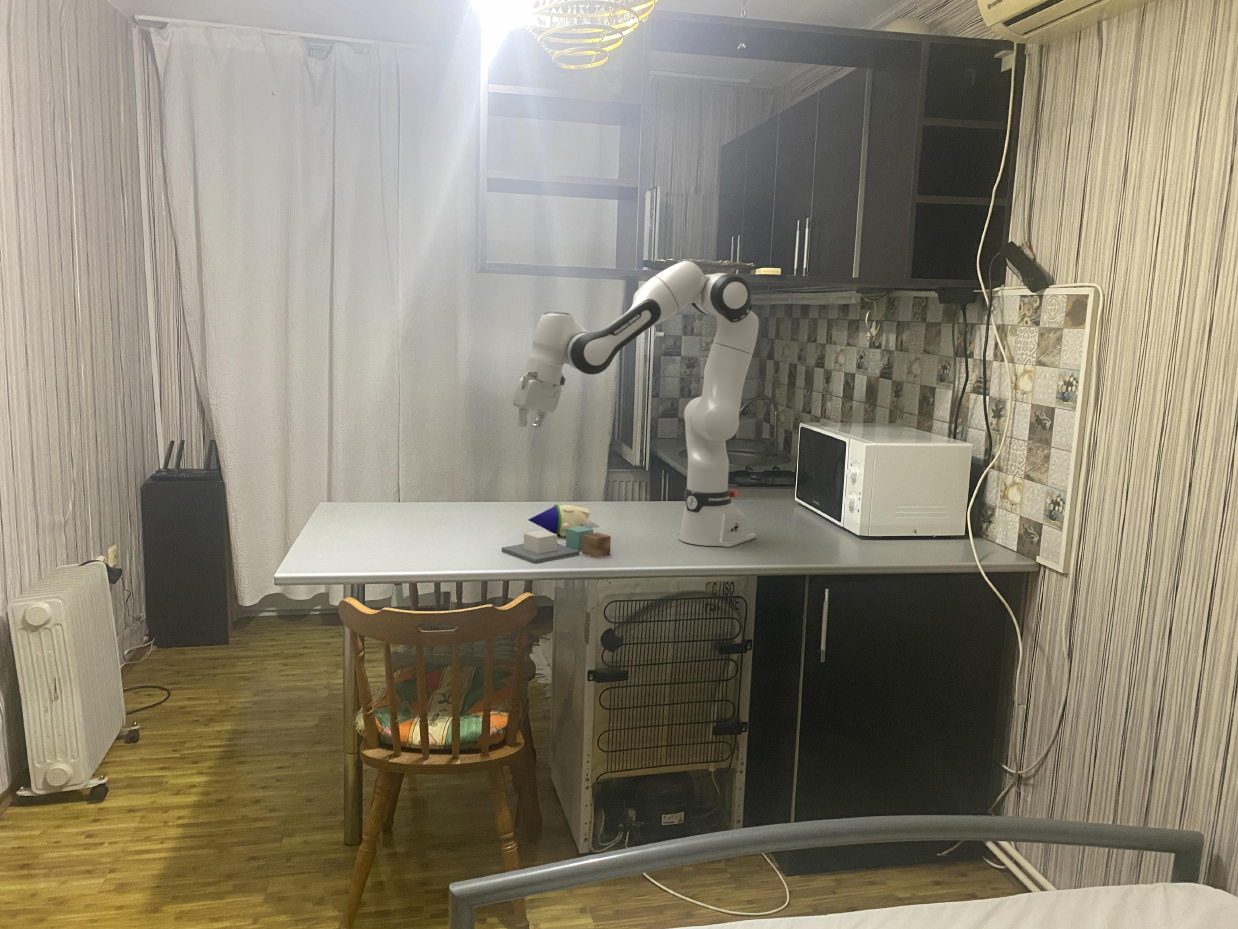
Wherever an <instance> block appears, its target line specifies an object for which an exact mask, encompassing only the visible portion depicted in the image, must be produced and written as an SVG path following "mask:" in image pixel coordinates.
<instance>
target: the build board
mask: <svg viewBox="0 0 1238 929" xmlns="http://www.w3.org/2000/svg"><path fill="white" fill-rule="evenodd" d="M501 552H502V553H505V554H508V555H510V556H513V557H516V558H519V559H521V560H525V561H526V560H527V561H526V562H529V561H530V563H532V562H533V563H532V564H540V563H543V561H545V562H550V561H555V560H559V559H560V558H561V559H565V557H566V558H570V557H575V555H576V556H579V555H580V550H579V551H578V550H575V549H572V548H569V547H566V545H563V544H560V543H558V535H557V534H554V533H552V532H550V531H548V530H545V529H541V530H540V529H539V530H536V531H535V530H534V531H530V532H523V543H521V544H515V545H514V544H513V545H509V546H503V547H502V546H501ZM549 560H550V561H549ZM539 562H540V563H539Z"/></svg>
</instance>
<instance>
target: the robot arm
mask: <svg viewBox="0 0 1238 929" xmlns="http://www.w3.org/2000/svg"><path fill="white" fill-rule="evenodd" d="M751 298H752V292H751V288H750V284H749V283H748V282H747V280H745V278H743V277H742V276H740V275H737V274H734V273H725V272H716V273H707V274H706V273H705V274H704V273H703V271H702V269H701V268H700V267H699V266H698V264H696V263H694V262H692V261H690V260H682V261H679V262H677V263H675V264H673V265H671V266H669V267H667V268H666V269H664V270H662V271H660V272H658V273H657V274H655V275H653V276H652V277H651V278H649V279H648V280H646V282H644V283H643V284H642V285H641V286H640V287H639V288H638V289H637V290H636V291H635V292H634V294H633V297H632V303H631V304H632V305H631V306H630V308H629V310H627V311H626V312H625V313H623V314H622V315H621V316H620V317H618V318H617V319H616V320H615V321H613V322H611V323H610V324H609V325H607V326H606V327H605V328H603V329H601V330H598V331H594V332H593V331H591V332H589V331H588V330H587V329H585V328H584V327H583V326H581V325H580V324H579V322H578V321H576V319H575V318H574V317H573V315H572V314H571V313H569V312H563V311H562V312H561V311H547V312H545V313H543V314H542V315H541V316H540V318H539V320H538V323H537V326H536V328H535V332H534V334H533V339H532V350H531V353H530V354H529V356H528V359H527V363H526V367H525V371H524V375H523V377H521V378H520V379H519V381H518V383H517V386H516V389H515V392H514V396H513V399H512V405H513V407H515V408H518V422H517V426H518V427H521V428H527V427H528V426H527V425H528V422H529V421H528V420H527V419H528V414H529V413H530V411H537V412H536V414H537V416H536V417H535V420H533V424H532V427H533V428H535V429H542V425H543V423H544V421H545V419H546V418H547V415H548V413H550V414H552V413H554V412H555V411H556V409H557V407H558V405H559V400H560V397H561V394H562V387H564V386H565V384H566V377H565V376H564V374H563V371H562V370H563V367H564V365H569V366H570V367H571V368H572V369H575V370H577V371H580V372H581V373H583V374H586V375H593V376H594V375H598V374H600V373H602V372H604V371H606V370H607V369H608V367H609V366H610V364H611V363H612V362H613V360H614V359H615V356H616V355H617V354H618V353H619V351H620V350H622V349H623V347H625V346H626V345H628V344H629V343H631V342H632V341H633V340H634V339H636V338H637V337H638V336H640V335H641V334H642V333H644V332H645V331H647V330H648V329H650V328H653V327H655V326H657V325H658V324H661V323H662V322H665V321H667V320H668V319H670V318H671V317H673V316H675V315H676V314H678V313H679V312H681V311H682V310H683V309H684V308H686V307H687V306H689V305H692V306H693V308H694V309H696V310H697V311H698V312H700V313H701V314H704V315H709V316H713V317H715V318H716V324H717V326H716V327H717V328H716V332H715V336H714V338H713V341H712V344H711V347H710V350H709V353H708V357H707V360H706V364H705V366H704V370H703V384H702V391H701V392H702V393H701V396H697V397H695V398H693V399H691V400H690V401H689V402H688V403H687V404H686V405H685V408H684V411H683V419H684V423H685V424H684V425H685V427H684V429H685V441H686V450H687V475H686V476H687V477H686V478H687V479H686V487H685V491H684V501H685V505H684V507H683V513H682V519H681V526H680V529H679V530H678V534H679V535H678V540H679V541H680V542H684V543H687V544H691V545H697V546H708V547H709V546H710V547H713V546H714V547H715V546H716V547H725V548H729V547H730V548H731V547H733V546H737V545H739V544H742V543H745V542H747V541H750V540H753V539H756V533H754V532H753V531H749V530H748V518H747V516H746V515H745V513H743V512H742V511H741V510H740V509H739V508H737V507H736V506H735V505H734V504H733V502H732V498H734V499H736V498H738V496H739V492H738V491H737V490H734V489H730V490H729V489H728V485H729V467H730V460H729V457H728V451H727V444H726V441H728V440H730V439H732V438H733V437H734V436H735V435H736V434H737V432H738V430H739V427H740V418H739V416H740V410H741V409H740V408H741V403H742V396H743V390H744V384H745V380H746V377H747V373H748V370H749V367H750V364H751V362H752V357H753V355H754V352H755V348H756V347H755V346H756V344H757V343H756V342H757V339H758V338H757V337H758V333H759V324H760V321H759V317H758V316H757V315H756V314H755V313H754V312H753V311H752V303H751V301H752V299H751Z"/></svg>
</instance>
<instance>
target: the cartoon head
mask: <svg viewBox="0 0 1238 929" xmlns="http://www.w3.org/2000/svg"><path fill="white" fill-rule="evenodd" d="M590 513H591V512H590V510H589V508H587V507H581V506H576V505H572V504H562V505H559V504H554V505H553V506H552V507H550V508H548V509H546V510H544V511H543V512H540V513H538V514H537V515H535V516H533V517H530V518H529V519H527V520H528V521H529V522H531V523H533V524H535V525H537V526H539V527H541V528H542V529H543V530H545V531H547V532H551V533H554V534H557V536H558V535H559V536H560V537H562V538H566V528H571V527H577V526H583V527H587V528H590V529H596V528H597V529H598V528H600V525H599V524H597V523H595V522H593V521H592V520H591V519H589V517H590Z"/></svg>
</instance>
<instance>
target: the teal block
mask: <svg viewBox="0 0 1238 929" xmlns="http://www.w3.org/2000/svg"><path fill="white" fill-rule="evenodd" d="M591 533H594V528H591V529H590V528H587V527H583V526H577V527H571V528H566V537H565V546H566V547H569V548H572V549H575V550H579V551H583V535H585V534H591Z"/></svg>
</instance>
